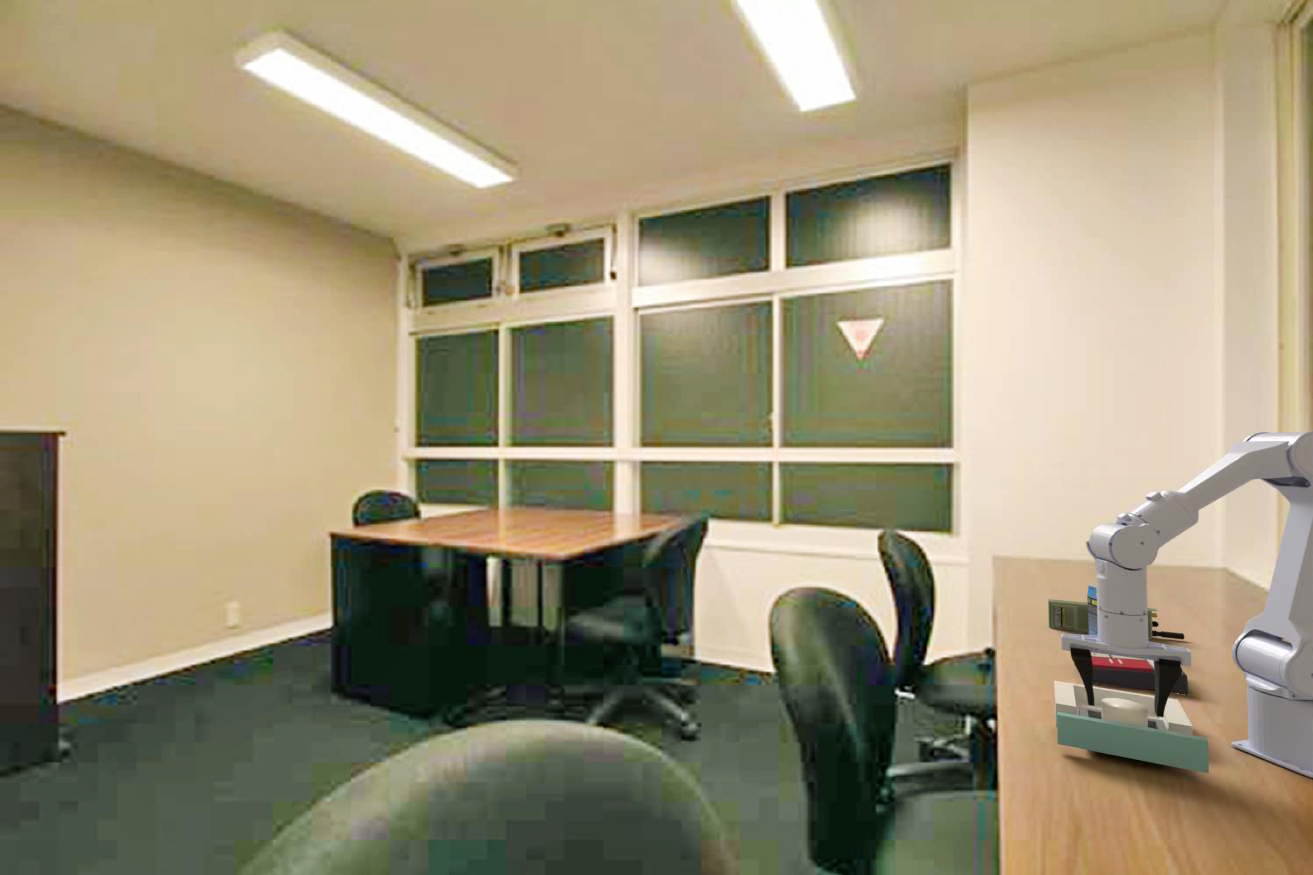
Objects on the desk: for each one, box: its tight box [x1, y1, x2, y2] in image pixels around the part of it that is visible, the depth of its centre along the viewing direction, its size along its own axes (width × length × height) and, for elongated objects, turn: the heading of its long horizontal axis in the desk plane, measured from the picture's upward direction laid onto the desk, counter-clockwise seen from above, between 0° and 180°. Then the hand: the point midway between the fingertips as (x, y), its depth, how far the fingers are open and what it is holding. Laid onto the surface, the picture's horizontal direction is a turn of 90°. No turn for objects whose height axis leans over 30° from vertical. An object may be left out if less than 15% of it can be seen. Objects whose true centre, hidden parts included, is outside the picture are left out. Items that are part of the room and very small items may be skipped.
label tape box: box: [1086, 584, 1098, 635], centre depth 135 cm, size 9×4×12 cm, turn 0°
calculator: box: [1076, 652, 1190, 696], centre depth 116 cm, size 11×4×15 cm
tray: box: [1056, 706, 1210, 774], centre depth 89 cm, size 11×16×4 cm
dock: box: [1053, 680, 1194, 735], centre depth 97 cm, size 11×16×4 cm
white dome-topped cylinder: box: [1101, 698, 1148, 727], centre depth 89 cm, size 5×5×4 cm
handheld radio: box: [1047, 598, 1185, 640], centre depth 144 cm, size 7×3×25 cm
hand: (1124, 708), depth 89 cm, fingers open, 7 cm apart
